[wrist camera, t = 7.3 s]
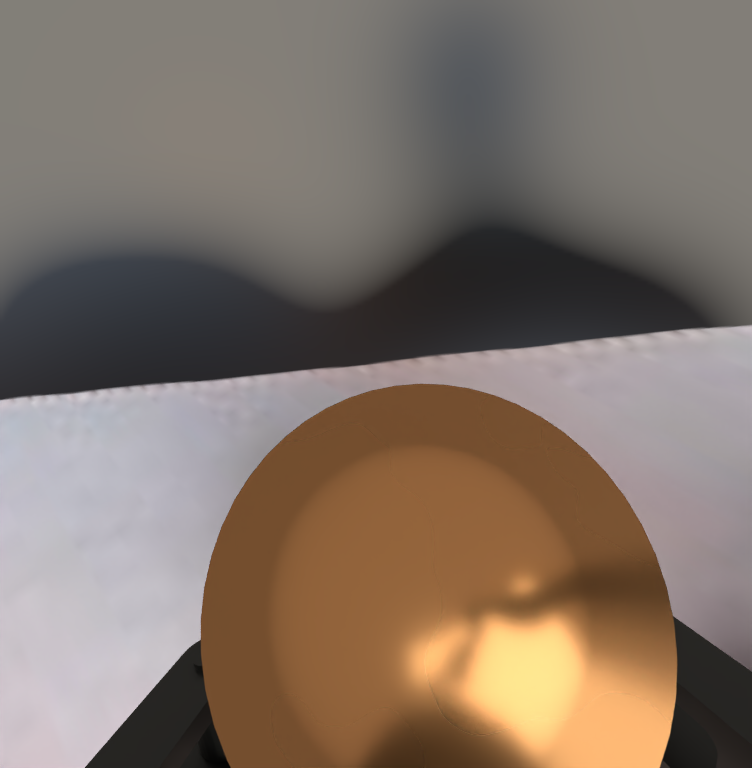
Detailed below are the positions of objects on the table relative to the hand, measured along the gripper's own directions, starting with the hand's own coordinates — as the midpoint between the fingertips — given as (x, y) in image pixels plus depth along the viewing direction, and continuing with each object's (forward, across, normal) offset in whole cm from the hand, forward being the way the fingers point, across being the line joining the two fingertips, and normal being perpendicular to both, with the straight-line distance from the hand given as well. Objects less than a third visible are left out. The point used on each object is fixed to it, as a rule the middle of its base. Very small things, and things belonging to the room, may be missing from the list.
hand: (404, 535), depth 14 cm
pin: (+6, 0, +9) cm, 11 cm away
